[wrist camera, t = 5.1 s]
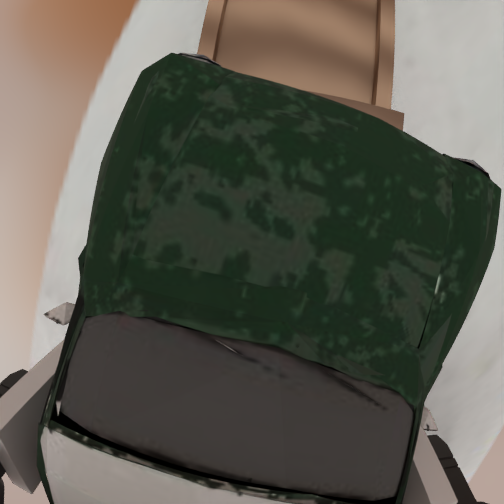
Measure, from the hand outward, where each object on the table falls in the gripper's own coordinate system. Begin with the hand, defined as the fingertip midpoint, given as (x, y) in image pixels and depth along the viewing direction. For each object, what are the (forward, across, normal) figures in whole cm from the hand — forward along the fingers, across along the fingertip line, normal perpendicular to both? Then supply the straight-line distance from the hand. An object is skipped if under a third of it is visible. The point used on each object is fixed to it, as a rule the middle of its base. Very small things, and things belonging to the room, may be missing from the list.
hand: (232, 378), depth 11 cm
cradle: (+15, -1, -23) cm, 28 cm away
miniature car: (+1, 0, 0) cm, 1 cm away
